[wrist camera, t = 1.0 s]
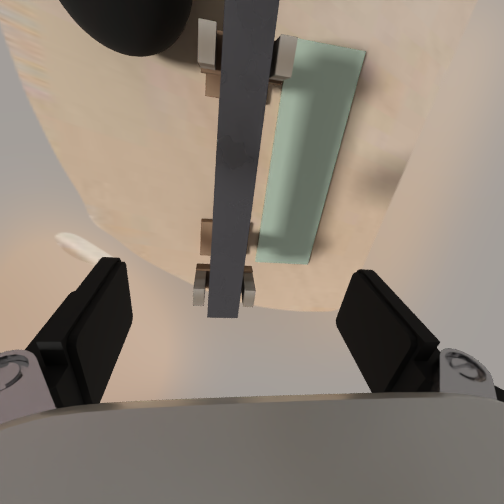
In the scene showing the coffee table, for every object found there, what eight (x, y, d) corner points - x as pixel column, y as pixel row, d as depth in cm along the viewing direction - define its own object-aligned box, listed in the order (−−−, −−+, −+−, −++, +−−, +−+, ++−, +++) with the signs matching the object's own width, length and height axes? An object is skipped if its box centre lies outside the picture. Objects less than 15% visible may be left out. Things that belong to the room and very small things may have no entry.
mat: (289, 37, 26) (290, 37, 25) (363, 52, 27) (365, 51, 26) (255, 260, 38) (255, 261, 38) (306, 263, 39) (307, 264, 39)
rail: (224, 5, 16) (225, -14, 14) (270, 14, 17) (279, -2, 14) (208, 297, 28) (207, 317, 26) (235, 298, 29) (237, 317, 26)
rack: (207, 35, 25) (197, -19, 14) (268, 46, 26) (305, 3, 15) (200, 251, 36) (191, 317, 25) (242, 253, 37) (252, 318, 26)
